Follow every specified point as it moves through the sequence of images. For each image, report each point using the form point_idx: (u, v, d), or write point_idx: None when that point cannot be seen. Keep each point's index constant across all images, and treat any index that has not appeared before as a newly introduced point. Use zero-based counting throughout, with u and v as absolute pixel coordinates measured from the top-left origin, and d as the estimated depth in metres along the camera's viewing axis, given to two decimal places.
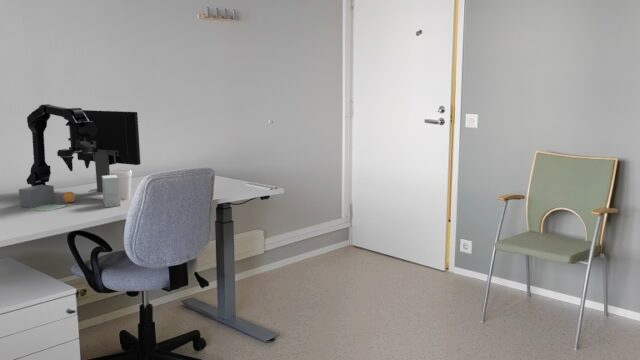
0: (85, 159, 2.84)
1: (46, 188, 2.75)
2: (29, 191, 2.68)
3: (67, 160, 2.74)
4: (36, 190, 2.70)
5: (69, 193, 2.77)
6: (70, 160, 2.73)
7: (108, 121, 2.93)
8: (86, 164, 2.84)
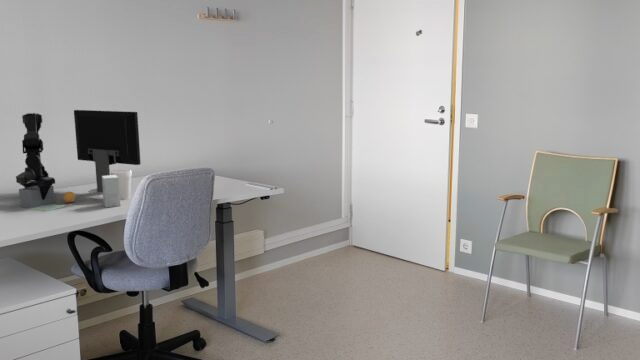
0: None
1: None
2: (29, 191, 2.68)
3: None
4: (36, 190, 2.70)
5: (69, 193, 2.77)
6: (25, 187, 2.75)
7: (108, 121, 2.93)
8: None
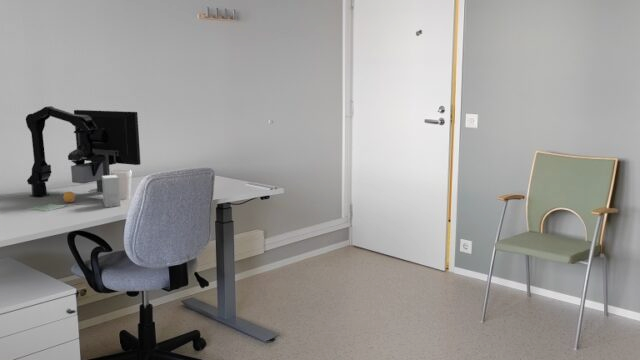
0: None
1: None
2: (81, 167, 2.80)
3: None
4: (87, 167, 2.83)
5: (69, 193, 2.77)
6: (76, 164, 2.88)
7: (108, 121, 2.93)
8: None
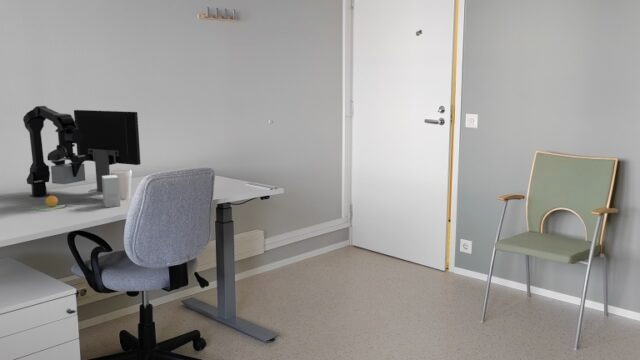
0: None
1: None
2: (62, 168, 2.70)
3: None
4: (68, 167, 2.72)
5: None
6: None
7: (108, 121, 2.93)
8: None
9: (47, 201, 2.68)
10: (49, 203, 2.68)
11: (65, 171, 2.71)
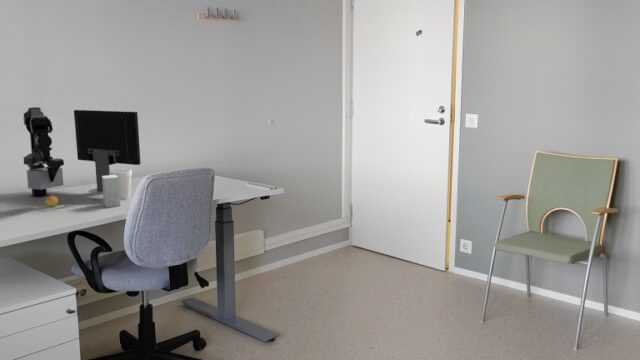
0: None
1: None
2: (37, 172, 2.59)
3: None
4: (44, 171, 2.61)
5: None
6: (32, 169, 2.67)
7: (108, 121, 2.93)
8: None
9: (47, 201, 2.68)
10: (49, 203, 2.68)
11: (41, 176, 2.60)
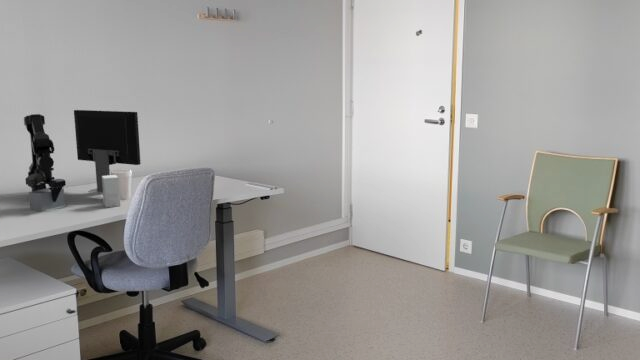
0: None
1: None
2: (39, 194, 2.61)
3: None
4: (46, 193, 2.63)
5: None
6: (33, 189, 2.68)
7: (108, 121, 2.93)
8: None
9: None
10: None
11: (43, 198, 2.62)
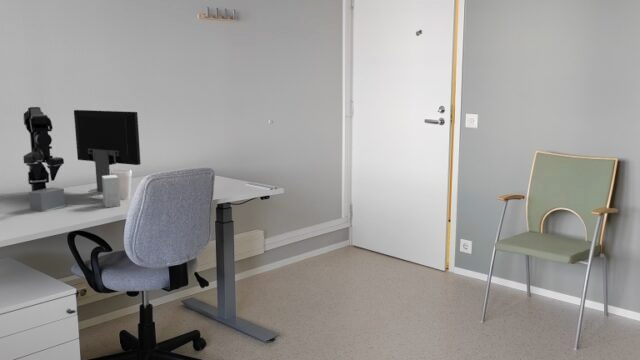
0: None
1: (56, 191, 2.68)
2: (39, 194, 2.61)
3: None
4: (46, 193, 2.63)
5: None
6: (31, 168, 2.67)
7: (108, 121, 2.93)
8: None
9: None
10: None
11: (43, 198, 2.62)
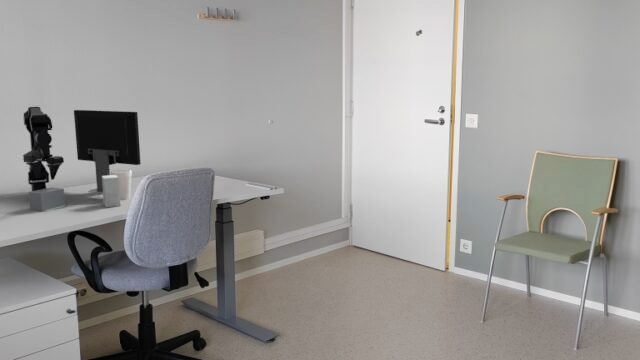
0: None
1: (56, 191, 2.68)
2: (39, 194, 2.61)
3: None
4: (46, 193, 2.63)
5: None
6: (31, 166, 2.67)
7: (108, 121, 2.93)
8: None
9: None
10: None
11: (43, 198, 2.62)
